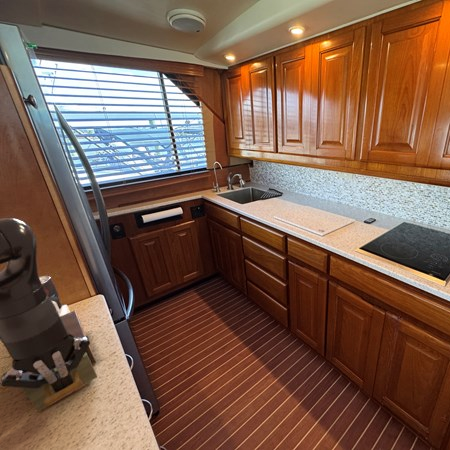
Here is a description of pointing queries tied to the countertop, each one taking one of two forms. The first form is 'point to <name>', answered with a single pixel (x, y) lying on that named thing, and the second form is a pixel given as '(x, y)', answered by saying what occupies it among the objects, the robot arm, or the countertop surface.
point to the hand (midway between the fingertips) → (65, 388)
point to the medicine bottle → (59, 306)
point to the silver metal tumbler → (49, 286)
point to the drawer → (49, 396)
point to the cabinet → (75, 331)
